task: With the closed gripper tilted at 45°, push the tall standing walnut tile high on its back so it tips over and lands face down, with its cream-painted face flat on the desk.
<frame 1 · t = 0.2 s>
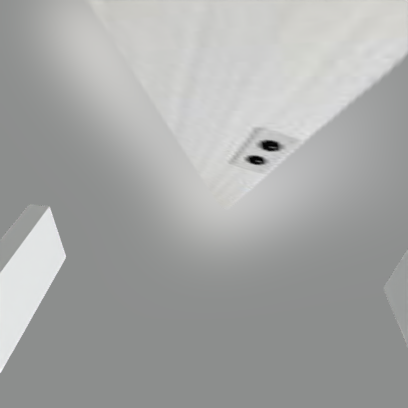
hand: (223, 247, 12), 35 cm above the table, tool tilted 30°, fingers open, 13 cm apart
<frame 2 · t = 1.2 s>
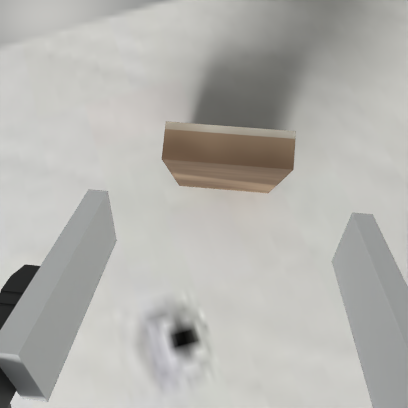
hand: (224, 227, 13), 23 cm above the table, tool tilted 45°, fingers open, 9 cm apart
walnut tile: (224, 176, 37), on the table
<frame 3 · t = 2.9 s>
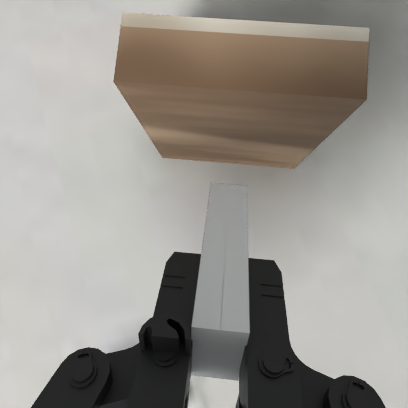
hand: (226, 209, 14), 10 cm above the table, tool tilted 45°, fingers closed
walnut tile: (229, 143, 25), on the table
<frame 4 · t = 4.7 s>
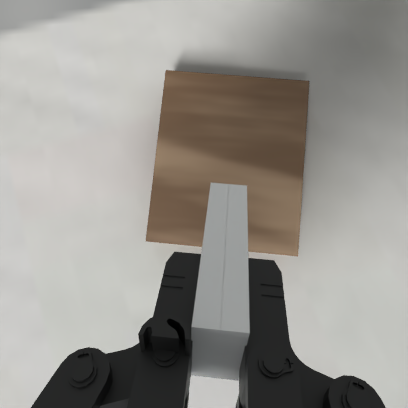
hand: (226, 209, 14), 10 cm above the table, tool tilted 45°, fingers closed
walnut tile: (220, 248, 23), point 1 cm above the table, tilted 90°
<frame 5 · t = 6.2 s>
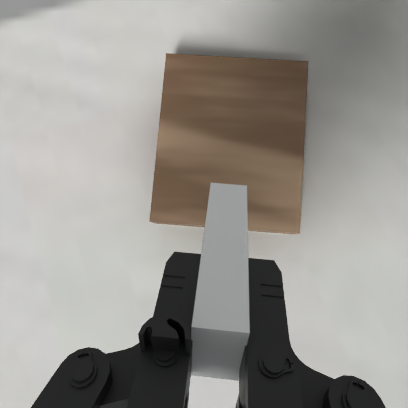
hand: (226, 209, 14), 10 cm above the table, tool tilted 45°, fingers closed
walnut tile: (223, 228, 23), point 1 cm above the table, tilted 90°
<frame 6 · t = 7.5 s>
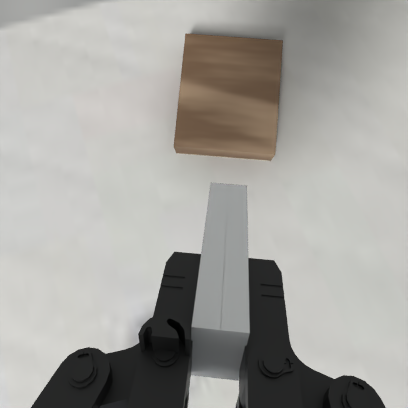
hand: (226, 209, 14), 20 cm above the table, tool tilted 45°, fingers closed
walnut tile: (223, 154, 34), point 1 cm above the table, tilted 90°
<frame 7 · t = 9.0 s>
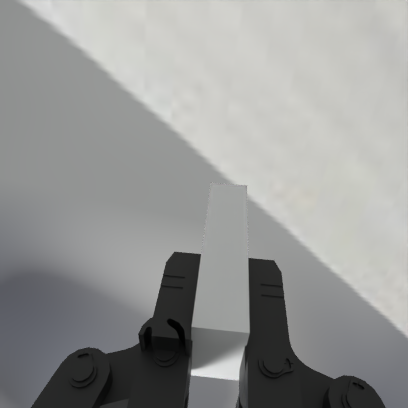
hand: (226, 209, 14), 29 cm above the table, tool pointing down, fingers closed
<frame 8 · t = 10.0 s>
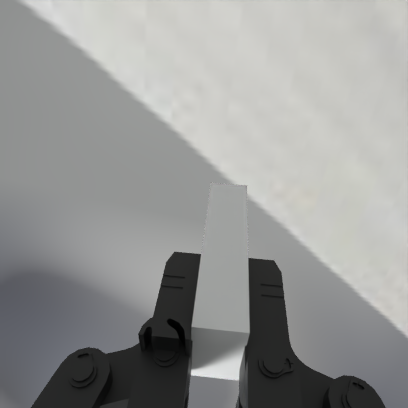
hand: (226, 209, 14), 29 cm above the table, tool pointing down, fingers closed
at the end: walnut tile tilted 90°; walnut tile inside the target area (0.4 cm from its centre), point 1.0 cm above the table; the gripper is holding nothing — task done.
